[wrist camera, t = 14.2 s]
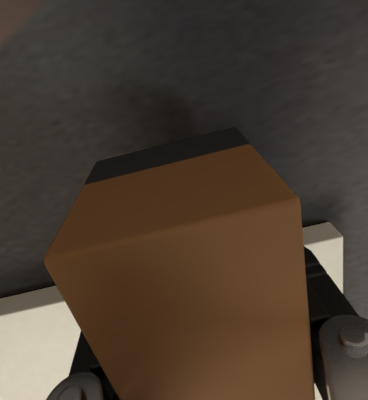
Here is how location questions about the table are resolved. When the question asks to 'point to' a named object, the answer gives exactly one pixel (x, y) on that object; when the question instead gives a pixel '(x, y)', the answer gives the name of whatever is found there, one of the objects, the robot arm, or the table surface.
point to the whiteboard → (70, 331)
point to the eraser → (189, 273)
